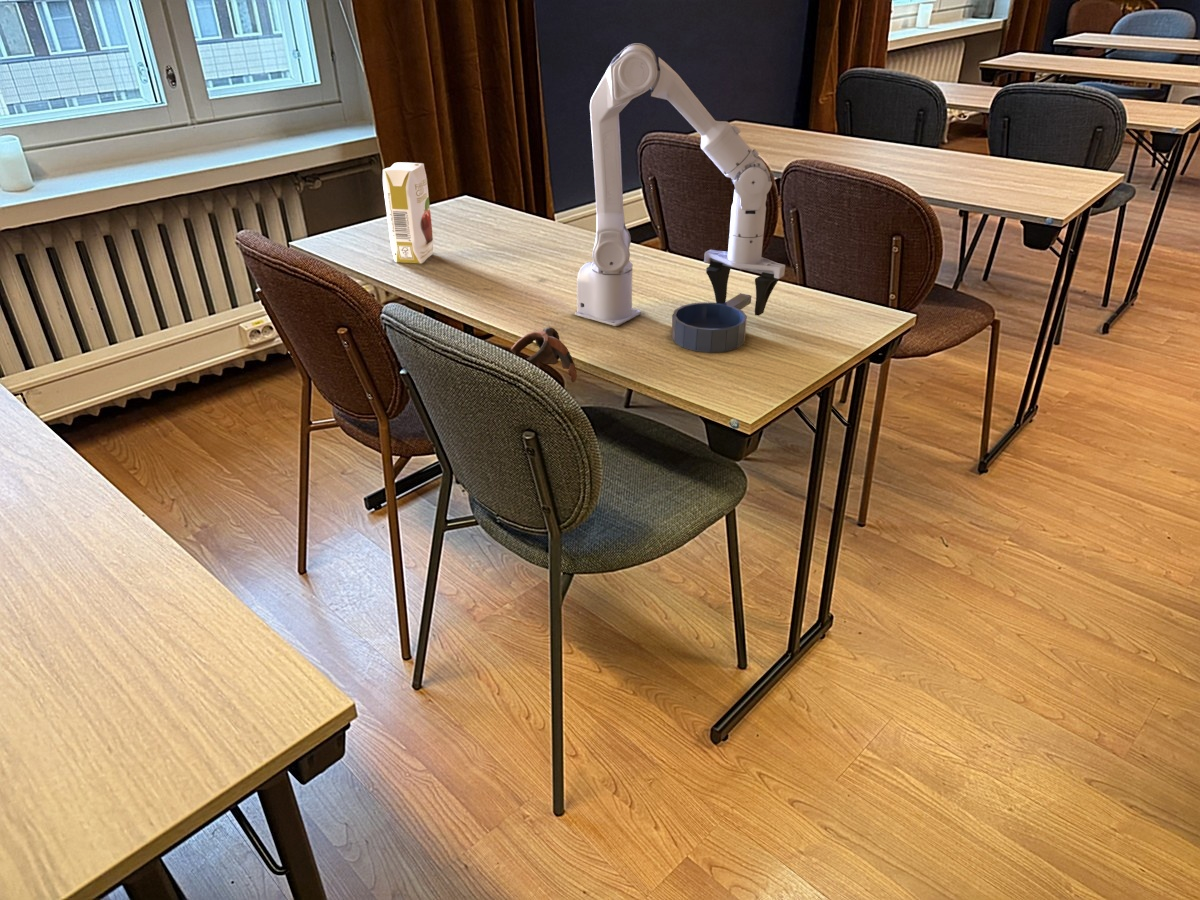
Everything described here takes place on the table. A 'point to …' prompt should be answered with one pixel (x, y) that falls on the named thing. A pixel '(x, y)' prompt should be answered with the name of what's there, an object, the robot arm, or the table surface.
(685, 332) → the blue measuring scoop
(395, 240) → the juice carton
